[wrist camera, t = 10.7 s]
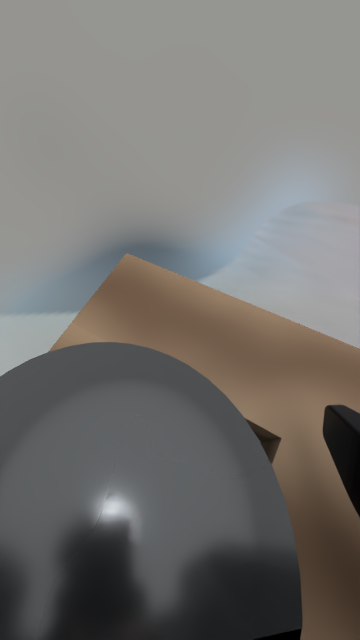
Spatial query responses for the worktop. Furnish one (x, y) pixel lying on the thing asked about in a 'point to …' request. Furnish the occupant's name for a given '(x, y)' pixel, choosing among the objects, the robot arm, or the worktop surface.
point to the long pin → (137, 505)
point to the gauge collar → (256, 409)
